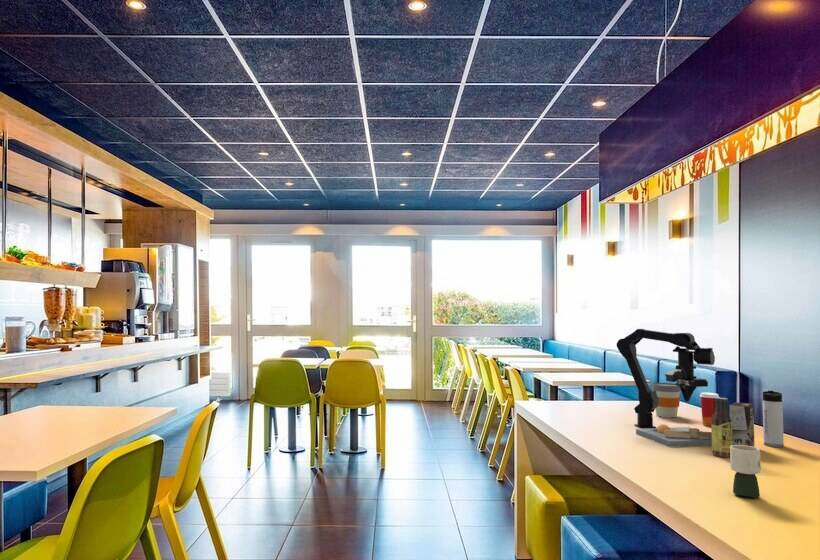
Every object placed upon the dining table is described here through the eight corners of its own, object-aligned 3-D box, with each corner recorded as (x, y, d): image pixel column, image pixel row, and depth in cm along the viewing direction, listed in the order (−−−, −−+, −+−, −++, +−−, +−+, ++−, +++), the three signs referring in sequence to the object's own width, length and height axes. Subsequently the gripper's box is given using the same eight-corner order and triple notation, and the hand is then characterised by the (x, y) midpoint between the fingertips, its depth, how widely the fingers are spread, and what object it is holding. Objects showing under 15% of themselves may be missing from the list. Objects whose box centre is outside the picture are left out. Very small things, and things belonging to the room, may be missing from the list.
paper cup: (715, 424, 246) (714, 392, 246) (723, 427, 238) (722, 395, 239) (697, 423, 246) (696, 392, 247) (704, 427, 239) (703, 394, 240)
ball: (659, 421, 220) (652, 431, 221) (670, 429, 216) (663, 440, 217) (663, 421, 223) (656, 431, 224) (674, 429, 220) (667, 440, 221)
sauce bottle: (725, 459, 188) (723, 400, 189) (708, 454, 194) (706, 397, 195) (737, 456, 191) (735, 398, 192) (719, 452, 197) (718, 396, 198)
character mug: (769, 503, 145) (767, 453, 146) (739, 501, 146) (737, 451, 147) (753, 490, 156) (751, 443, 156) (725, 488, 157) (724, 442, 158)
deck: (636, 433, 226) (636, 428, 226) (688, 431, 230) (688, 427, 230) (669, 446, 204) (669, 441, 205) (726, 444, 209) (726, 439, 209)
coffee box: (749, 452, 198) (748, 406, 198) (729, 449, 202) (728, 404, 203) (755, 447, 204) (754, 403, 205) (735, 444, 209) (734, 401, 209)
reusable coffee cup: (679, 419, 255) (678, 386, 256) (650, 416, 262) (649, 384, 263) (682, 415, 266) (682, 383, 267) (654, 412, 273) (654, 381, 273)
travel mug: (781, 444, 209) (780, 391, 210) (785, 448, 203) (783, 393, 204) (762, 442, 212) (761, 389, 213) (765, 446, 206) (763, 392, 207)
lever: (663, 434, 214) (662, 405, 214) (722, 437, 209) (722, 408, 210) (665, 436, 210) (665, 407, 211) (726, 439, 206) (725, 409, 206)
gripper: (654, 361, 236) (655, 398, 235) (683, 365, 218) (684, 405, 217) (677, 361, 238) (678, 397, 237) (708, 365, 220) (709, 405, 219)
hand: (686, 401), depth 228 cm, fingers closed
